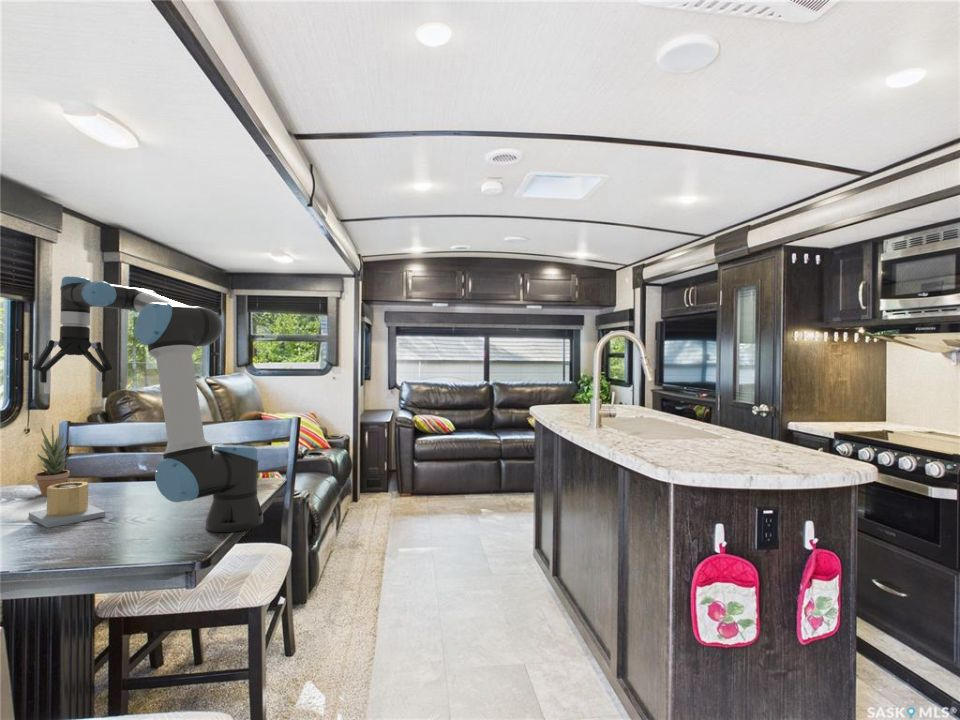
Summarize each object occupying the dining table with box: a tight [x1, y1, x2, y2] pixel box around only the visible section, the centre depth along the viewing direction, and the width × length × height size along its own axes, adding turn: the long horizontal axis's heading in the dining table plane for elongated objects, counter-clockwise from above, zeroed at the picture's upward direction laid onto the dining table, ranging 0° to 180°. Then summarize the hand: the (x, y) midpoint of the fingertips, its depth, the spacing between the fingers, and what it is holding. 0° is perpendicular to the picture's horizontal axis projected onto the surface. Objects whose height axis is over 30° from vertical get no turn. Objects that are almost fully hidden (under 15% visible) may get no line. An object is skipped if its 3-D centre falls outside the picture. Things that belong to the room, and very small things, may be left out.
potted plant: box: [34, 423, 72, 496], centre depth 183 cm, size 10×10×25 cm
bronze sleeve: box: [46, 481, 89, 517], centre depth 156 cm, size 9×9×8 cm
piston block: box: [28, 485, 106, 529], centre depth 156 cm, size 16×14×9 cm
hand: (73, 392), depth 165 cm, fingers open, 13 cm apart
